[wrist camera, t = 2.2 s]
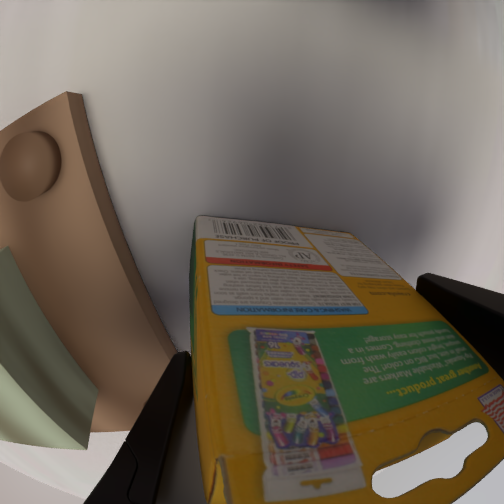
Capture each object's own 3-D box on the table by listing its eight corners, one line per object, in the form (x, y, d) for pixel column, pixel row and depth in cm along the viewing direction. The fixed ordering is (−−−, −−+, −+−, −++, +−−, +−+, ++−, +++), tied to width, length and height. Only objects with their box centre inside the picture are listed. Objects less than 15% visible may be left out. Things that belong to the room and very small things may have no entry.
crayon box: (188, 278, 13) (213, 579, 2) (194, 213, 11) (231, 588, 1) (334, 286, 14) (472, 480, 4) (352, 232, 13) (543, 416, 3)
